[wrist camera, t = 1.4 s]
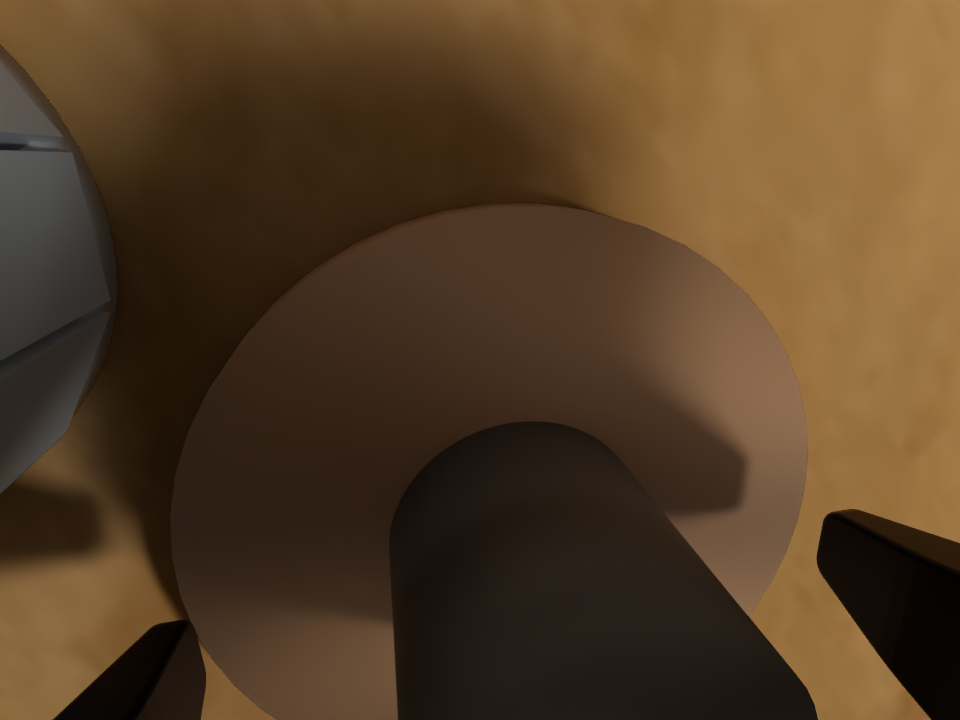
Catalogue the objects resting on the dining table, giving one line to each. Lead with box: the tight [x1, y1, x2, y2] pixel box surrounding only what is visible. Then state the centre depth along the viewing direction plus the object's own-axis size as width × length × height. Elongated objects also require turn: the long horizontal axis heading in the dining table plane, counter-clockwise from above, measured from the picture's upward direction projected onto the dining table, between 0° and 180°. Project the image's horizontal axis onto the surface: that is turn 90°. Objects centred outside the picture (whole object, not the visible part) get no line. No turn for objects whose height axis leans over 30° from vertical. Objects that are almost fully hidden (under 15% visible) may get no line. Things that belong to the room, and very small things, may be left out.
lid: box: [170, 203, 818, 720], centre depth 8 cm, size 10×10×5 cm
